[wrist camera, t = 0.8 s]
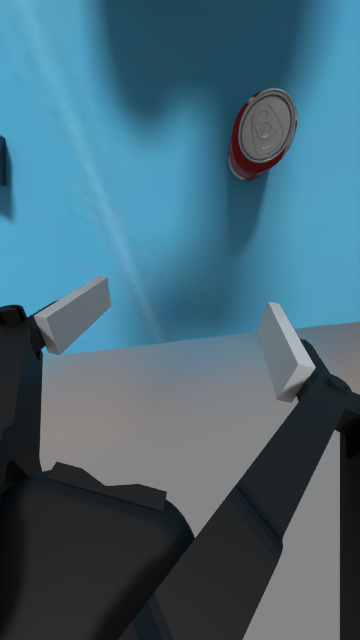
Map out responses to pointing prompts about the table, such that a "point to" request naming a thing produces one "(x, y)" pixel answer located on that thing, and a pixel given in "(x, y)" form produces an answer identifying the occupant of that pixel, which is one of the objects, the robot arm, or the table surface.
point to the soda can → (262, 133)
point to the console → (2, 162)
